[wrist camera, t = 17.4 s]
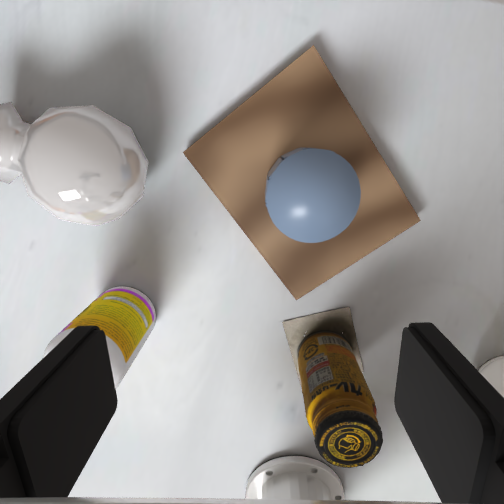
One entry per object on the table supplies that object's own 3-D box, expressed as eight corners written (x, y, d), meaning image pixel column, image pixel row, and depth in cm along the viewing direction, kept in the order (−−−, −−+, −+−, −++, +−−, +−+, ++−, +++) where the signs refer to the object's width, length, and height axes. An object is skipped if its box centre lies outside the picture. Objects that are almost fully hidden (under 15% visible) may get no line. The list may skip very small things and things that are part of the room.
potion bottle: (171, 190, 34) (36, 153, 35) (160, 97, 26) (-14, 53, 27) (126, 261, 28) (-33, 215, 29) (95, 170, 20) (-121, 111, 21)
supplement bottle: (105, 275, 35) (20, 344, 23) (165, 296, 36) (113, 375, 23) (91, 326, 37) (6, 415, 25) (148, 346, 38) (92, 443, 25)
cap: (297, 131, 29) (306, 127, 23) (358, 179, 30) (380, 187, 24) (250, 196, 31) (247, 207, 25) (309, 239, 32) (319, 259, 26)
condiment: (300, 383, 38) (316, 484, 27) (282, 321, 36) (290, 401, 25) (363, 370, 38) (406, 468, 26) (348, 305, 35) (389, 381, 24)
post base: (415, 218, 32) (445, 232, 27) (295, 295, 35) (301, 322, 30) (311, 49, 28) (322, 25, 23) (185, 152, 31) (169, 153, 26)
